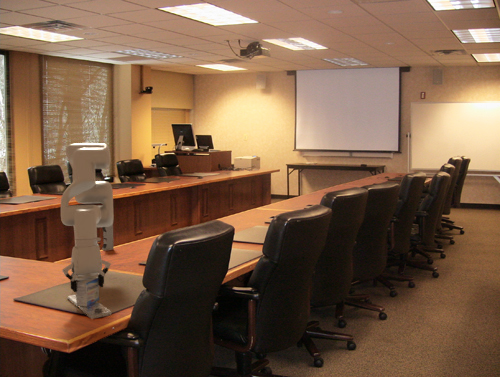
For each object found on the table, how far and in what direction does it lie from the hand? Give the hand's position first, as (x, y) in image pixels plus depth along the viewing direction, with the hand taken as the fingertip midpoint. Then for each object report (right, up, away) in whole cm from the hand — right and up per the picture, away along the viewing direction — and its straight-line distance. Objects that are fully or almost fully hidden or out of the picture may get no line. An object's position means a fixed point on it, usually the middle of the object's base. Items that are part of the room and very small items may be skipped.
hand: (87, 288), depth 188 cm
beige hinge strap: (0, -7, 0) cm, 7 cm away
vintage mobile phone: (-19, +2, +97) cm, 99 cm away
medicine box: (0, -6, 0) cm, 6 cm away
